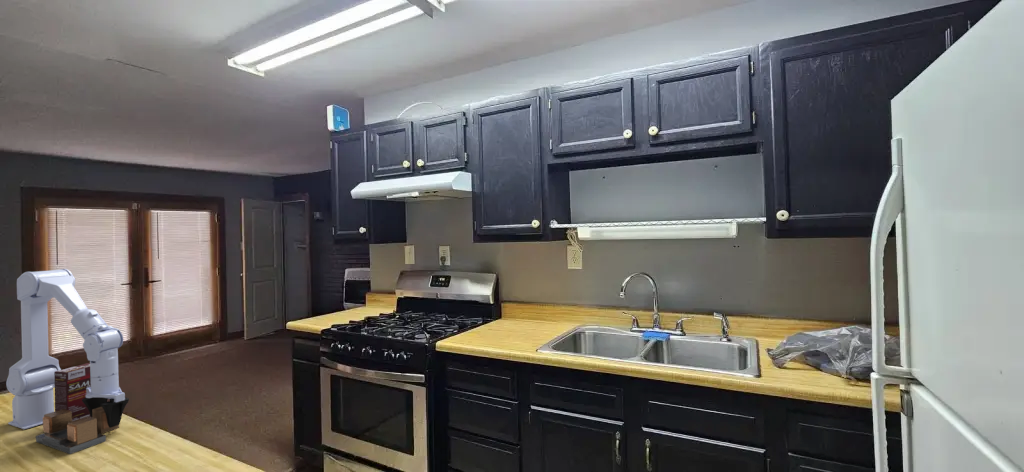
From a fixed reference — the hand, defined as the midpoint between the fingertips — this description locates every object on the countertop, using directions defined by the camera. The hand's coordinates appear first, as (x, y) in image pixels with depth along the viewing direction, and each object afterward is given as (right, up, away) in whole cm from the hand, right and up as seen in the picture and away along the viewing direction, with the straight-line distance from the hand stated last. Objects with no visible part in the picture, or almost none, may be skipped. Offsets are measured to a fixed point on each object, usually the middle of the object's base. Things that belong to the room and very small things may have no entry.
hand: (106, 423), depth 125 cm
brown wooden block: (0, -2, 0) cm, 2 cm away
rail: (-3, -2, -7) cm, 8 cm away
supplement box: (-12, -2, +5) cm, 13 cm away
